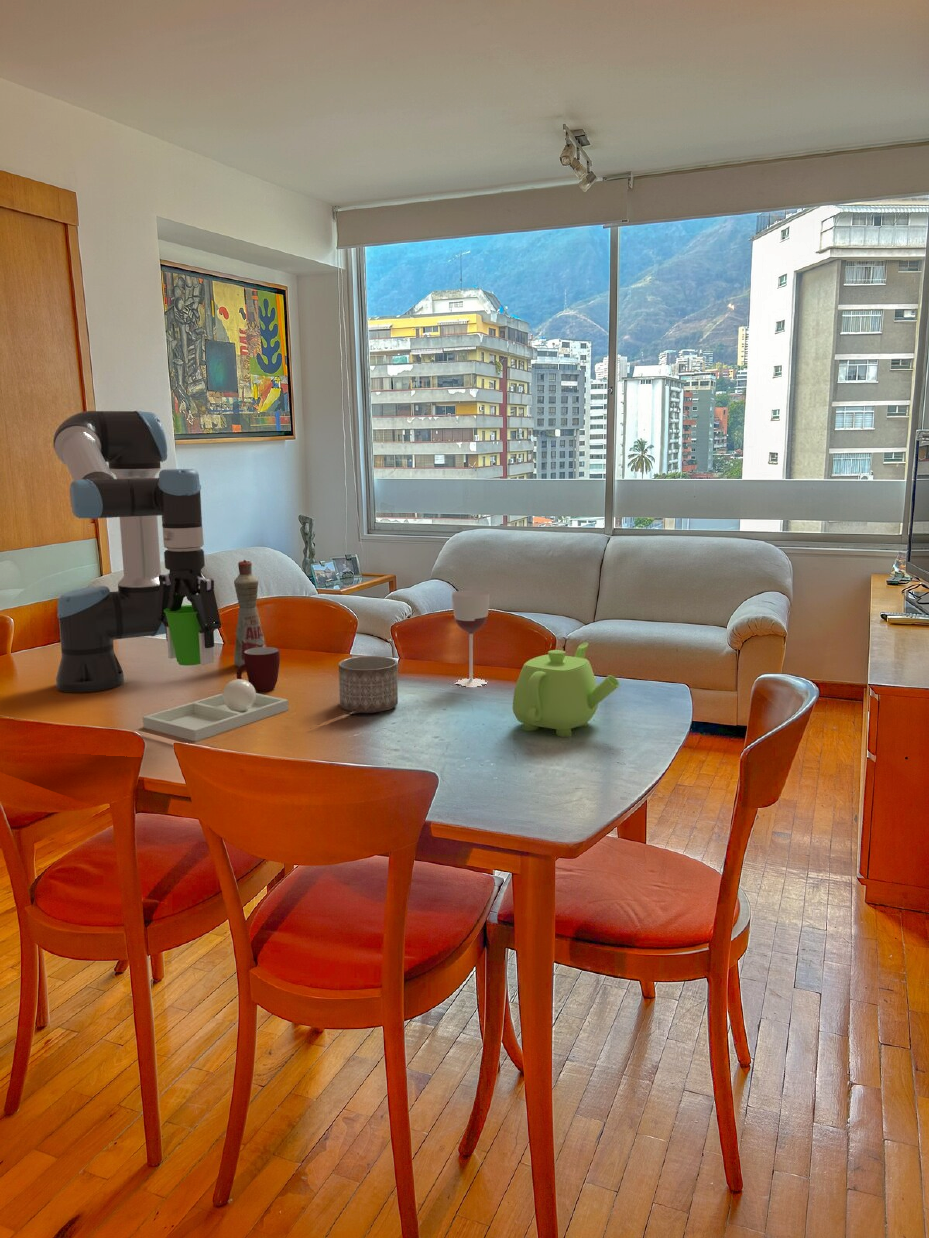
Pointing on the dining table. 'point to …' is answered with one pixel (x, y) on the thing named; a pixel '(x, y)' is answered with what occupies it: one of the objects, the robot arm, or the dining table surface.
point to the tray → (211, 717)
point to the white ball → (239, 695)
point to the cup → (184, 634)
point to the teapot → (559, 692)
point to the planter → (368, 684)
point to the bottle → (247, 613)
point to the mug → (261, 667)
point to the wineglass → (470, 622)
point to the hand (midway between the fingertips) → (191, 660)
